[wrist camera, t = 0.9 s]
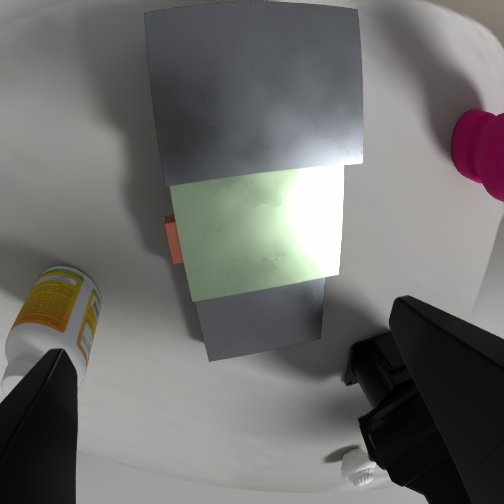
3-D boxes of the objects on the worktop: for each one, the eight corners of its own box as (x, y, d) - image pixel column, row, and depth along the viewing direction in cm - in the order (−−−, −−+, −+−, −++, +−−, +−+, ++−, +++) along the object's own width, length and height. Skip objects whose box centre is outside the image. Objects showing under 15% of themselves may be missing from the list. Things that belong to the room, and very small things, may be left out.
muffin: (361, 455, 47) (375, 485, 41) (331, 464, 46) (344, 496, 40) (372, 439, 44) (388, 471, 38) (340, 449, 43) (355, 484, 37)
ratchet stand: (312, 322, 27) (339, 374, 22) (199, 345, 25) (207, 404, 20) (309, 27, 16) (357, 9, 11) (145, 38, 14) (129, 15, 9)
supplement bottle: (25, 287, 20) (-24, 384, 11) (66, 249, 19) (15, 351, 11) (72, 332, 22) (47, 434, 14) (116, 302, 22) (98, 412, 14)
